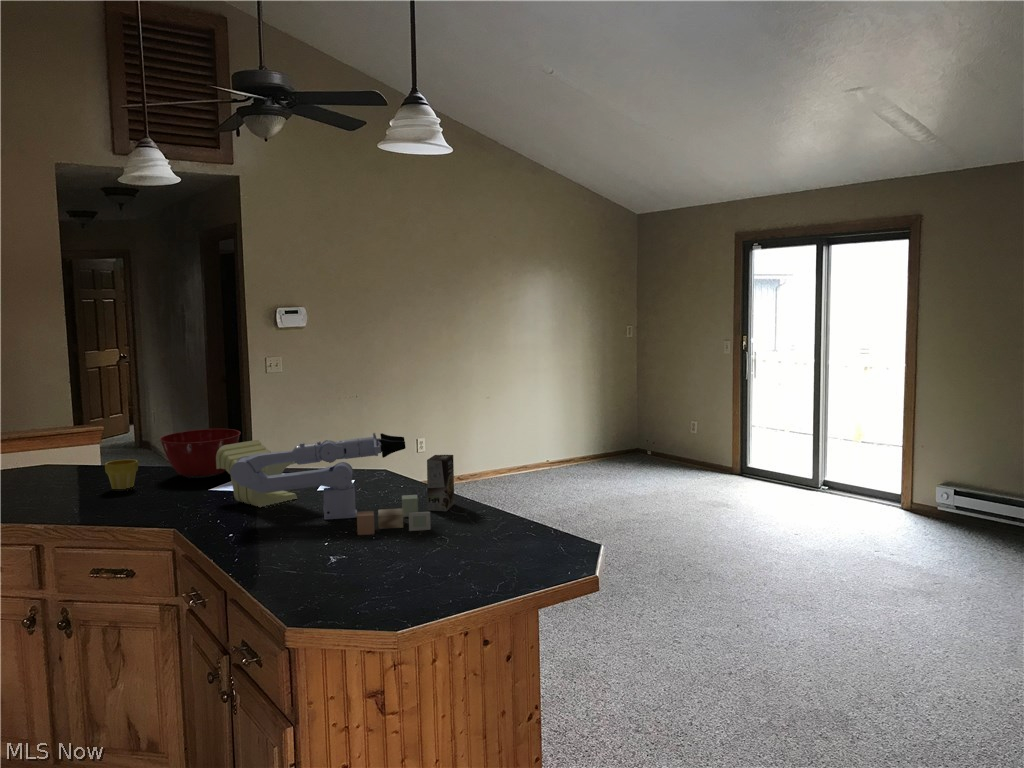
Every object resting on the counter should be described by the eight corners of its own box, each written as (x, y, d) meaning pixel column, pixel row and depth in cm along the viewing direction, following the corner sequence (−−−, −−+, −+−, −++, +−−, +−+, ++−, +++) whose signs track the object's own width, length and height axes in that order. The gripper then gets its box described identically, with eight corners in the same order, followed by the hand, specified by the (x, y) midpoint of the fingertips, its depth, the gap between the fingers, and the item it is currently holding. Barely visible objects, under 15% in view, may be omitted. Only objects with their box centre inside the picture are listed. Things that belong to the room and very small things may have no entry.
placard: (409, 531, 224) (408, 513, 223) (409, 529, 225) (408, 512, 224) (430, 529, 224) (430, 512, 224) (430, 528, 226) (429, 511, 225)
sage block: (402, 517, 238) (402, 499, 238) (402, 513, 243) (401, 495, 242) (418, 516, 239) (417, 498, 239) (417, 512, 244) (416, 494, 243)
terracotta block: (357, 535, 221) (356, 516, 220) (358, 530, 225) (357, 511, 224) (374, 534, 221) (373, 515, 221) (374, 529, 226) (373, 510, 225)
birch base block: (378, 529, 226) (378, 516, 226) (378, 522, 233) (378, 509, 233) (403, 528, 227) (402, 514, 227) (402, 521, 234) (402, 508, 234)
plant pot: (129, 484, 286) (127, 457, 285) (145, 488, 280) (143, 460, 279) (101, 490, 278) (99, 462, 276) (116, 494, 272) (114, 466, 270)
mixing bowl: (194, 487, 281) (192, 444, 279) (145, 478, 296) (143, 437, 294) (258, 471, 305) (256, 432, 303) (210, 464, 320) (208, 426, 318)
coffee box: (447, 511, 243) (446, 460, 242) (427, 510, 245) (425, 459, 243) (455, 504, 252) (454, 454, 251) (435, 503, 254) (434, 453, 252)
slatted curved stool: (218, 499, 262) (215, 446, 260) (260, 490, 275) (258, 439, 273) (270, 514, 243) (267, 457, 241) (313, 503, 255) (311, 449, 254)
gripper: (357, 438, 232) (404, 433, 234) (358, 430, 246) (402, 426, 248) (360, 462, 233) (406, 457, 235) (361, 453, 247) (405, 448, 249)
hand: (404, 442), depth 241 cm, fingers open, 7 cm apart
